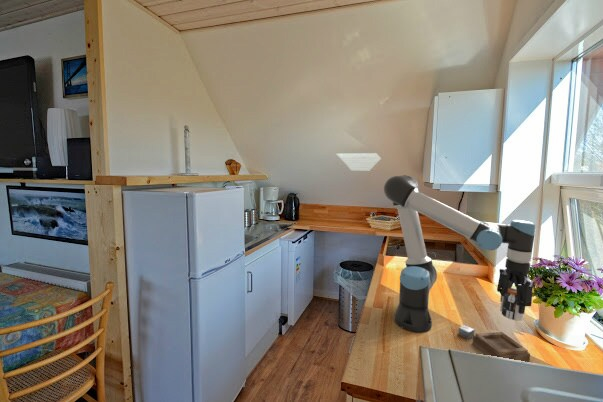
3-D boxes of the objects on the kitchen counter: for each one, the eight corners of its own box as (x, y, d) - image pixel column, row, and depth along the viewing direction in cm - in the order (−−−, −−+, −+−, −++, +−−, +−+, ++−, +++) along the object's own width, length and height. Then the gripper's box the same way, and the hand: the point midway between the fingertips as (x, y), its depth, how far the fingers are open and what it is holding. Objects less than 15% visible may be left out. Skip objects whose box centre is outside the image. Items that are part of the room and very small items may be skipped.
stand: (497, 364, 96) (498, 353, 95) (472, 342, 107) (473, 333, 107) (529, 361, 97) (530, 351, 96) (501, 340, 109) (502, 331, 108)
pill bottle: (514, 321, 108) (517, 294, 107) (498, 314, 113) (501, 287, 112) (523, 318, 110) (527, 291, 109) (507, 311, 116) (510, 285, 114)
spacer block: (468, 339, 110) (469, 332, 109) (458, 334, 113) (458, 327, 113) (473, 336, 112) (474, 329, 112) (463, 331, 115) (464, 324, 115)
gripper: (550, 269, 100) (541, 329, 103) (506, 252, 119) (500, 303, 122) (531, 269, 99) (523, 329, 102) (490, 252, 118) (484, 304, 121)
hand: (510, 315), depth 112 cm, fingers closed on pill bottle, 6 cm apart
